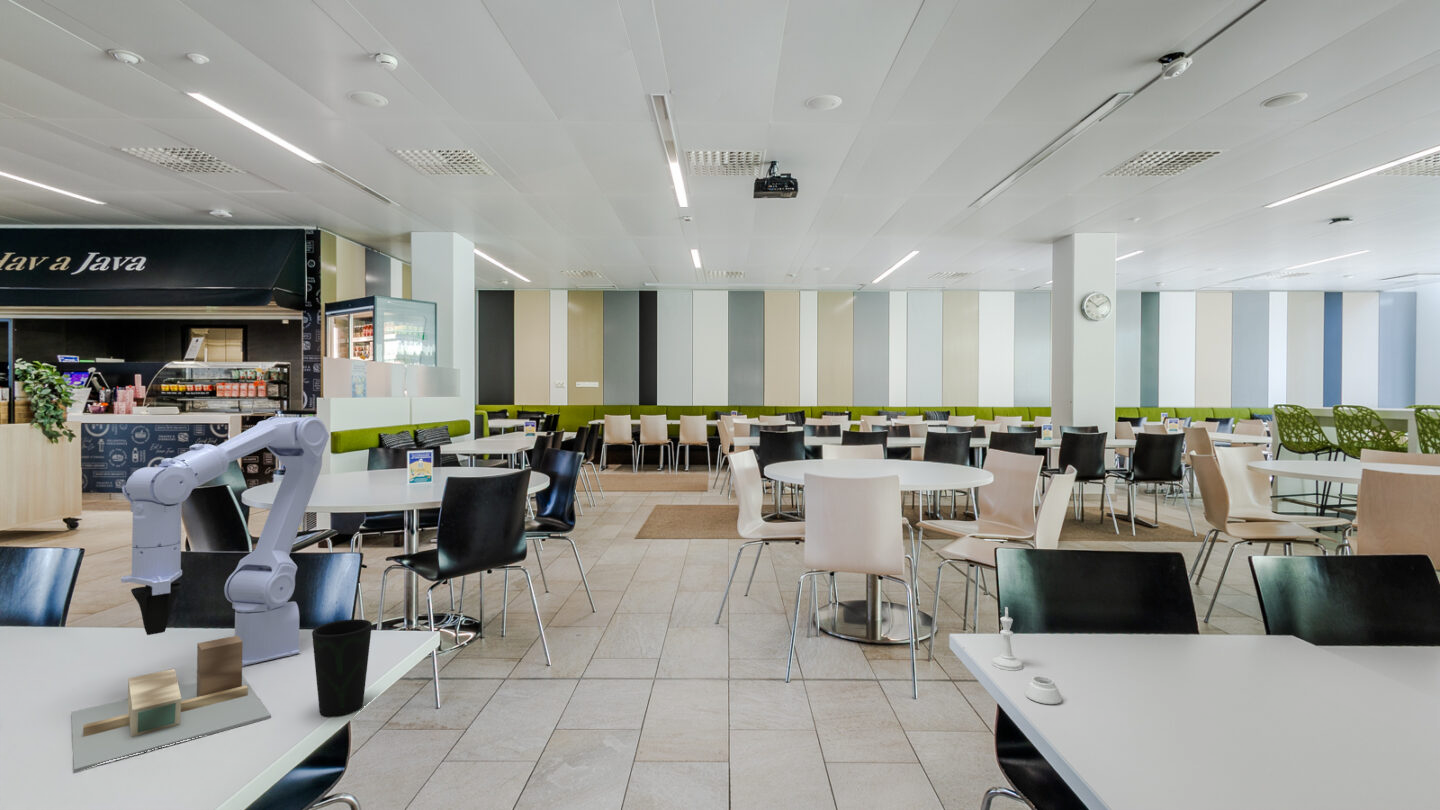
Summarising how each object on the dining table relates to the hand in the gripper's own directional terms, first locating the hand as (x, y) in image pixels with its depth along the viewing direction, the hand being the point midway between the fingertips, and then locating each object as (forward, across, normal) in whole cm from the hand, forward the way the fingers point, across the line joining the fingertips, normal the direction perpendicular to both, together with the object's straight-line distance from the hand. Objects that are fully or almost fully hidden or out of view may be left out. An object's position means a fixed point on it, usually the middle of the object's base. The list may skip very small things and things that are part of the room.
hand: (155, 632), depth 99 cm
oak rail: (+10, +10, +1) cm, 14 cm away
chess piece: (+10, +90, +105) cm, 138 cm away
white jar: (+10, +98, +95) cm, 137 cm away
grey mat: (+10, +10, +1) cm, 14 cm away
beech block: (+6, +8, -1) cm, 10 cm away
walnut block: (+10, +7, +7) cm, 14 cm away
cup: (+10, +25, +19) cm, 33 cm away
